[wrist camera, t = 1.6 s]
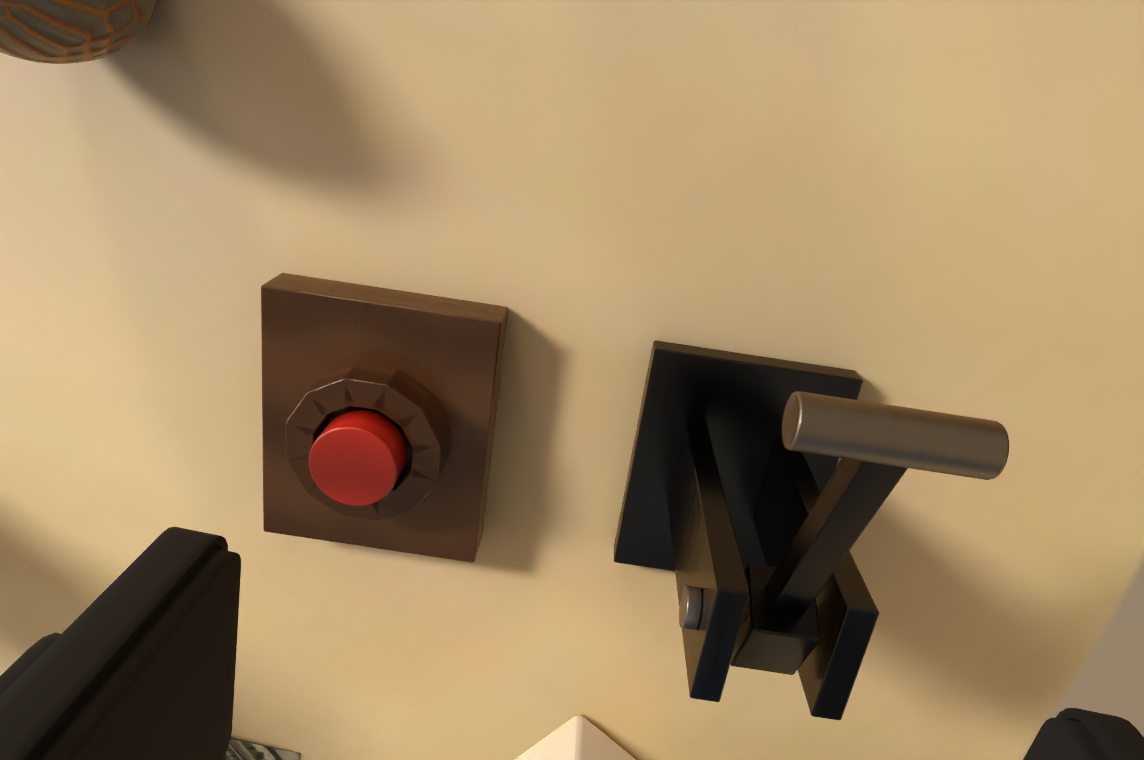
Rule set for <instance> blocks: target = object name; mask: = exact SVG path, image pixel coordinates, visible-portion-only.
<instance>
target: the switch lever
mask: <svg viewBox="0 0 1144 760" xmlns="http://www.w3.org/2000/svg"><path fill="white" fill-rule="evenodd" d="M782 439H783V444H784V446H785V448H787V449H788V450H792V451H799V452H806V453H812V454H819V455H826V456H832V457H839V458H842V459H841V461H840V463H839V464H838V466H837V468H836V469H835V471H834V473H833V474H832V476H831V478H830V479H829V481H828V483H827V484H826V486H825V488H824V489H823V491H822V493H821V494H820V496H819V498H818V499H817V501H816V503H815V504H814V506H813V508H812V509H811V511H810V513H809V514H808V516H807V518H806V519H805V521H804V523H803V524H802V526H801V528H800V529H799V531H798V533H797V534H796V536H795V538H794V539H793V541H792V543H791V544H790V546H789V548H788V549H787V551H786V553H785V554H784V556H783V558H782V559H781V561H780V563H779V564H778V566H777V568H776V567H770V566H763V565H756V564H748V566H747V568H746V570H745V572H744V574H745V578H746V581H747V585H748V589H749V598H748V601H747V605H746V609H745V612H744V616H743V619H742V623H741V627H740V630H739V634H738V637H737V641H736V645H735V648H734V652H733V655H732V659H731V662H730V665H731V666H736V667H743V668H750V669H756V670H763V671H770V672H777V673H783V674H790V675H793V674H794V673H795V672H796V671H797V669H798V668H799V667H800V666H801V664H802V663H803V662H804V661H805V659H806V658H807V657H808V656H809V654H810V653H811V652H812V651H813V649H814V648H815V647H816V645H817V644H818V643H819V642H820V640H821V639H820V630H819V622H818V613H817V604H816V596H817V595H818V593H819V592H820V590H821V589H822V588H823V586H824V585H825V583H826V582H827V581H828V579H829V578H830V576H831V575H832V574H833V572H834V571H835V569H836V568H837V567H838V565H839V564H840V562H841V561H842V560H843V558H844V557H845V555H846V554H847V553H848V551H849V550H850V548H851V547H852V546H853V544H854V543H855V541H856V540H857V539H858V537H859V536H860V534H861V533H862V532H863V530H864V529H865V527H866V526H867V525H868V523H869V522H870V520H871V519H872V518H873V516H874V515H875V513H876V512H877V511H878V509H879V508H880V506H881V505H882V504H883V502H884V501H885V499H886V498H887V497H888V495H889V494H890V492H891V491H892V490H893V488H894V487H895V485H896V484H897V483H898V481H899V480H900V478H901V477H902V476H903V474H904V473H905V471H906V470H907V469H908V468H912V469H918V470H925V471H932V472H938V473H945V474H952V475H958V476H965V477H971V478H978V479H985V480H990V479H993V478H996V477H997V476H998V475H999V474H1000V473H1001V472H1002V470H1003V469H1004V467H1005V464H1006V462H1007V458H1008V453H1009V439H1008V434H1007V431H1006V429H1005V428H1004V426H1003V425H1002V424H1000V423H999V422H997V421H992V420H985V419H979V418H972V417H965V416H959V415H952V414H946V413H939V412H932V411H926V410H919V409H913V408H906V407H899V406H893V405H886V404H880V403H873V402H866V401H860V400H853V399H846V398H840V397H833V396H827V395H820V394H813V393H807V392H800V391H796V392H793V393H792V394H791V396H790V397H789V399H788V401H787V404H786V407H785V410H784V415H783V421H782Z"/></svg>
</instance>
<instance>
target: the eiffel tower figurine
mask: <svg viewBox="0 0 1144 760" xmlns="http://www.w3.org/2000/svg"><path fill="white" fill-rule="evenodd" d="M299 757H300V753H295V752H290V751H285V750H281V749H276V748H271V747H266V746H261V745H257V744H252V743H247V742H242V741H237V740H233V739H230V742H229V746H228V749H227V752H226V755H225V757H224V760H299Z"/></svg>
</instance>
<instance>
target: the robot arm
mask: <svg viewBox="0 0 1144 760" xmlns="http://www.w3.org/2000/svg"><path fill="white" fill-rule="evenodd" d="M240 573H241V558H240V555H239V554H238V553H235V552H230V551H228V544H227V542H226V539H225V538H224V537H222V536H218V535H213V534H208V533H203V532H198V531H193V530H188V529H183V528H178V527H171V528H168V529H167V530H166V531H164V532H163V533H162V534H161V535H160V536H159V537H158V538H157V539H156V540H155V541H154V542H153V543H152V544H151V545H150V546H149V547H148V548H147V549H146V550H145V551H144V552H143V553H142V554H141V555H140V556H139V557H138V558H137V559H136V560H135V561H134V562H133V563H132V564H131V565H130V566H129V567H128V568H127V569H126V570H125V571H124V572H123V573H122V574H121V575H120V576H119V577H118V578H117V579H116V580H115V581H114V582H113V583H112V584H111V585H110V586H109V587H108V588H107V589H106V590H105V591H104V592H103V593H102V594H101V595H100V596H99V597H98V598H97V599H96V600H95V601H94V602H93V603H92V604H91V605H90V606H89V607H88V608H87V609H86V610H85V611H84V612H83V613H82V614H81V615H80V616H79V617H78V618H77V619H76V620H75V621H74V622H73V623H72V624H71V625H70V626H69V627H68V628H67V629H66V630H65V631H64V632H63V633H62V634H59V633H53V634H50V635H48V636H45V637H43V638H42V639H40V640H39V641H38V642H36V643H35V644H34V645H33V646H31V647H30V648H29V649H28V650H27V651H26V652H25V653H24V654H23V655H22V656H21V657H20V658H19V659H18V660H17V661H16V662H15V663H13V664H12V665H11V666H10V667H9V668H8V669H7V670H6V671H5V672H4V673H3V674H2V675H1V676H0V760H224V757H225V755H226V752H227V749H228V746H229V742H230V738H231V732H232V717H233V699H234V681H235V663H236V645H237V627H238V609H239V591H240ZM1023 760H1144V737H1143V736H1142V735H1141V734H1140V732H1139V731H1138V730H1137V729H1136V728H1135V727H1134V726H1133V725H1132V724H1131V723H1130V722H1129V721H1127V720H1125V719H1123V718H1121V717H1117V716H1112V715H1107V714H1101V713H1097V712H1092V711H1087V710H1082V709H1077V708H1067V709H1065V710H1063V711H1061V712H1060V713H1059V714H1058V715H1057V717H1056V718H1050V719H1048V720H1046V721H1045V723H1044V724H1043V725H1042V727H1041V729H1040V730H1039V732H1038V734H1037V736H1036V738H1035V739H1034V741H1033V743H1032V745H1031V747H1030V748H1029V750H1028V752H1027V754H1026V756H1025V757H1024V759H1023Z"/></svg>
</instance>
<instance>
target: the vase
mask: <svg viewBox="0 0 1144 760" xmlns="http://www.w3.org/2000/svg"><path fill="white" fill-rule="evenodd" d="M156 2H157V0H0V52H1V53H4V54H7V55H10V56H13V57H16V58H20V59H24V60H29V61H34V62H40V63H53V64H65V63H79V62H85V61H91V60H96V59H99V58H102V57H105V56H107V55H110V54H112V53H114V52H116V51H118V50H120V49H121V48H123V47H124V46H126V45H127V44H128V43H130V42H131V41H132V40H133V39H135V38H136V37H137V36H138V35H139V33H140V32H141V31H142V30H143V28H144V27H145V26H146V24H147V23H148V21H149V19H150V18H151V15H152V13H153V11H154V8H155V5H156Z"/></svg>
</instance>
